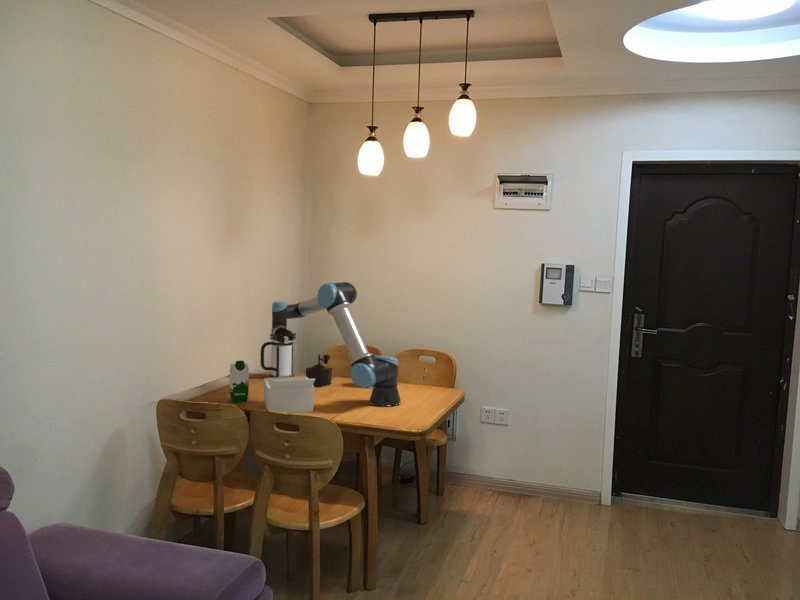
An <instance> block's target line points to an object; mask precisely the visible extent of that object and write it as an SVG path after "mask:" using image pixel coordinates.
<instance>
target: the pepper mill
mask: <svg viewBox="0 0 800 600" xmlns="http://www.w3.org/2000/svg"><path fill="white" fill-rule="evenodd" d="M317 359H318V362H317V363H316V364H314V365H313V366H310V367H305V377H308V378H309V379H315V381H314V383H313V385H314V388H315V387H316V388H322V387H323V386H324V387H326V386H327V385H328V386H330V384H331V385H332V378H333V377H332V376H333V375H332V373H333V371H332V370H333V368H332V367H329V366H325V365H328V364H329V361H330V360H331V356H330V355H329V354H324V355H323V357H321V354H318V357H317ZM321 361H322V363H323V364H322V363H321ZM324 364H325V365H324ZM324 387H323V388H324Z"/></svg>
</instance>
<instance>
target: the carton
mask: <svg viewBox="0 0 800 600" xmlns="http://www.w3.org/2000/svg"><path fill="white" fill-rule="evenodd" d="M286 379H309V378H308V377H306V376H295V377H293V376H292V377H290V376H287V377H277V378H276V377H263V401H264V406H265V408H266V411H267V410H268V411H275V412H287V413H288V414H307V413H308V412H309V413H313V411H314V403H315V401H314V400H315V386H314V385H312V387H300V388H273V389H270V387H271V383H272V380H286ZM268 411H267V412H268ZM309 413H308V414H309Z"/></svg>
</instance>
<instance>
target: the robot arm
mask: <svg viewBox="0 0 800 600" xmlns="http://www.w3.org/2000/svg"><path fill="white" fill-rule="evenodd" d="M357 295H358V292H357V289H356V287H355V286H354V285H353V283H350V282H347V281H343V282H341V281H340V282H328V283H324V284H322V285H321V286H320V287H319V288H318V291H317V294H316V296H315V297H312V298H309V299H306V300H304V301H301V302H300V301H299V302H298V303H292V304H288V303H287V302H286V301H273V302H272V307H271V319H272V320H271V333H270V334H269V335H270V336H269V339H270V340H272V339H273V340H276V341H278V342H281V343H285V344H288V341H293V342H294V340H296V339H297V337H296V335H297V334H296V333H295V332H293V334H290V333H289V331H288V330H289V329H287V328H288V327H287V325H288V324H287V323H288V320H291V319H301V318H302V319H303V318H305V317H307V316H308V315H311V314H314V313H317V312H321V311H325V310H326V311H327V314H328V315H331V316H332V317H333V319H334V322H335V324H336V326H337V329H338V330H339V333H340V336H341V338H342V340H343V342H344V344H345V348H346V349H347V351H348V353H349V356H350V358H351V362H350V366H351V369H350V372H349V373H350V379H351V381H352V382H353V384H354V385H355V386H357V387H359V388H362V389H363V388H365V389H367V388H366V387H371V386H374V387H373V388H372V390H371V394H370V397H369V404H370V403H372V404H375V405H374V406H376V405H384V406H383V407H388V406H387V405H396V404H399V403H400V404H401V399H402V398H401V397H400V394H399V389H398V375H399V374H398V373H399V370H398V369H399V361H398V358H397V357H394V356H387V355H374V354H373V353H372V352H369V350H368V348H367V346H366V343H365V341H364V340H363V337H362V335H361V332H360V330H359V327H358V326H357V323H356V321H355V319H354V316H353V314H352V312H351V309H350V307H351V305H352V304H353V303H354V302H355V301H356V299H357ZM372 404H371V405H372ZM400 404H399V405H400ZM396 406H397V405H396Z"/></svg>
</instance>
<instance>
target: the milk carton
mask: <svg viewBox="0 0 800 600" xmlns="http://www.w3.org/2000/svg"><path fill="white" fill-rule="evenodd" d="M249 369H250V368H249V365H248V363H246V362H245V361H244V360H235V363H230V365H229V396H230V401H231V403H232V404H240V403H239V402H247V403H248V401H249V400H248V399H249V383H250V382H249V380H250V377H249V375H250V374H249V371H250V370H249Z"/></svg>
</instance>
